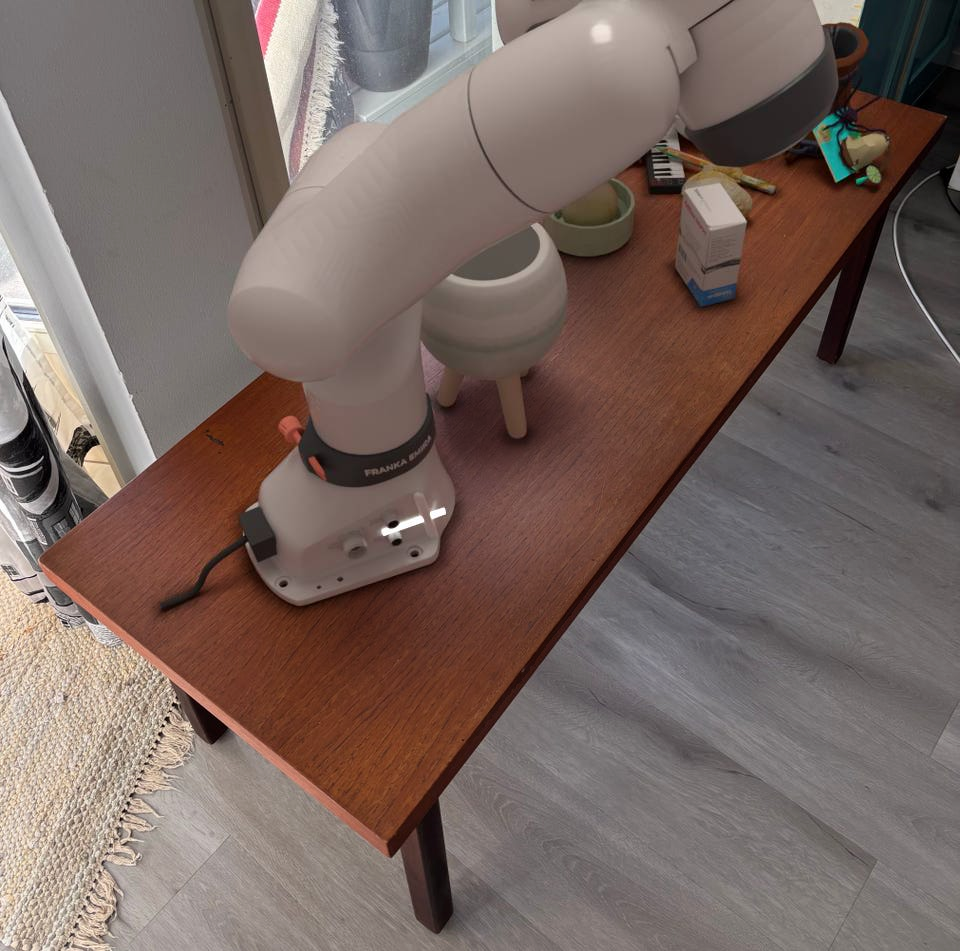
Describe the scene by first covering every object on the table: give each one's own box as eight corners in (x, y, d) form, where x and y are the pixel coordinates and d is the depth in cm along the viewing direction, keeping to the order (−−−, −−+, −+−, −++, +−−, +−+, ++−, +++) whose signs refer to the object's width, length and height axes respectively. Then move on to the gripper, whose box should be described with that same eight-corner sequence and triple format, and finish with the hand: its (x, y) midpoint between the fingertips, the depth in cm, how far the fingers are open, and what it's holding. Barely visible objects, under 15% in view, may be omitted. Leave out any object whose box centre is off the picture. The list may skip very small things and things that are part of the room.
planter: (542, 342, 118) (542, 183, 101) (583, 438, 108) (590, 280, 91) (412, 369, 117) (389, 212, 99) (441, 470, 106) (421, 314, 89)
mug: (812, 190, 135) (837, 88, 123) (736, 164, 139) (754, 63, 128) (865, 128, 143) (894, 28, 132) (792, 106, 148) (813, 7, 136)
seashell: (664, 197, 126) (711, 133, 133) (654, 231, 131) (701, 168, 138) (734, 228, 123) (779, 161, 130) (722, 262, 128) (765, 196, 136)
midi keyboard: (686, 184, 135) (650, 185, 135) (685, 192, 136) (649, 193, 136) (675, 116, 146) (641, 117, 146) (674, 124, 147) (641, 125, 147)
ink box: (735, 300, 121) (751, 221, 112) (697, 308, 121) (710, 229, 112) (708, 258, 127) (721, 179, 118) (672, 265, 126) (682, 187, 117)
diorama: (843, 200, 134) (877, 185, 129) (798, 98, 132) (830, 79, 127) (888, 174, 139) (922, 158, 134) (845, 75, 137) (878, 56, 132)
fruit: (621, 241, 129) (625, 189, 123) (567, 249, 128) (568, 197, 122) (608, 207, 134) (611, 155, 128) (555, 214, 133) (555, 163, 127)
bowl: (575, 271, 126) (576, 240, 123) (525, 225, 133) (524, 193, 129) (649, 238, 130) (653, 206, 126) (597, 194, 137) (598, 163, 133)
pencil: (651, 151, 139) (771, 195, 134) (653, 144, 138) (774, 188, 134) (655, 148, 140) (774, 191, 135) (657, 141, 139) (777, 184, 134)
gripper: (530, 74, 106) (531, 184, 117) (679, 19, 112) (667, 128, 123) (499, 50, 109) (502, 159, 120) (645, -2, 116) (636, 106, 126)
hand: (587, 143), depth 122 cm, fingers open, 8 cm apart
